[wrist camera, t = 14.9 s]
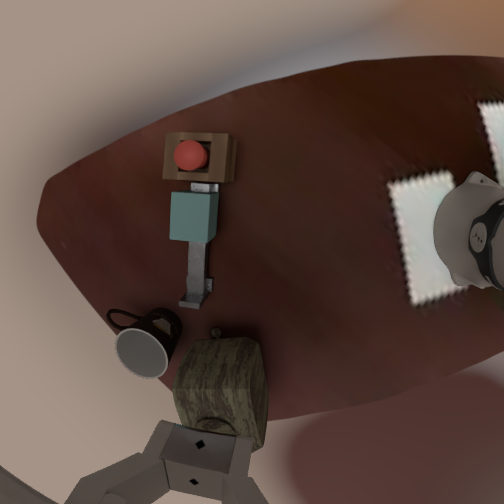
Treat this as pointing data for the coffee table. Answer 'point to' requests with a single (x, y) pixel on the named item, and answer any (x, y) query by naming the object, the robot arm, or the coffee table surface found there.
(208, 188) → the rail
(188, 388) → the tabletop clock
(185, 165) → the red rounded peg
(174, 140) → the wooden box
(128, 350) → the coffee mug
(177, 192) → the block
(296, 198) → the coffee table surface
